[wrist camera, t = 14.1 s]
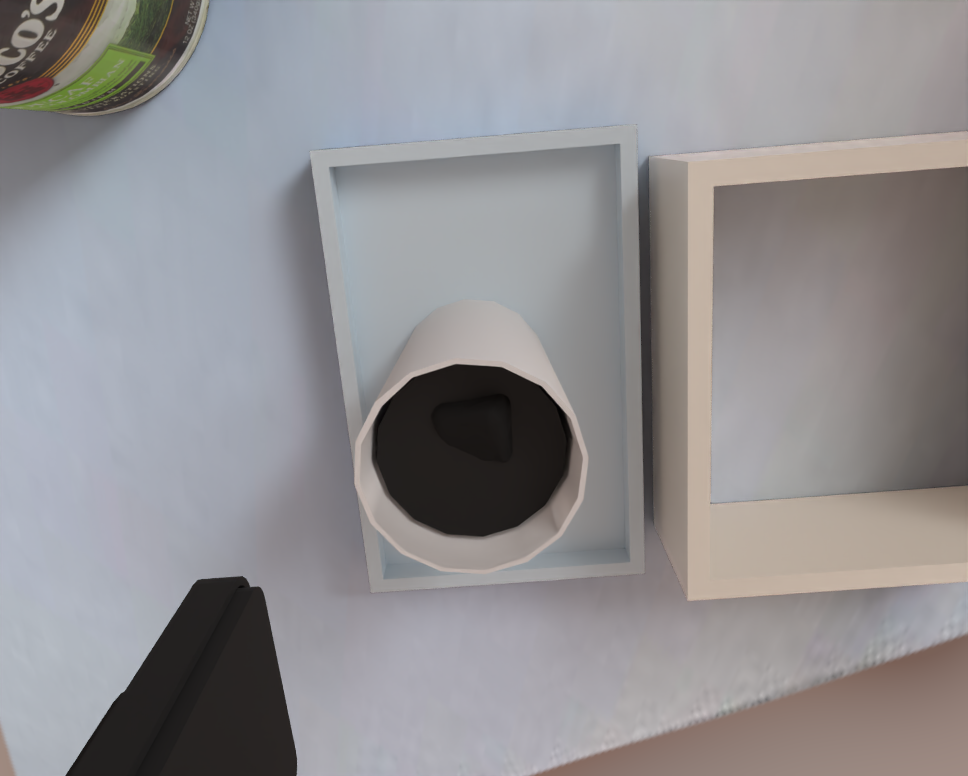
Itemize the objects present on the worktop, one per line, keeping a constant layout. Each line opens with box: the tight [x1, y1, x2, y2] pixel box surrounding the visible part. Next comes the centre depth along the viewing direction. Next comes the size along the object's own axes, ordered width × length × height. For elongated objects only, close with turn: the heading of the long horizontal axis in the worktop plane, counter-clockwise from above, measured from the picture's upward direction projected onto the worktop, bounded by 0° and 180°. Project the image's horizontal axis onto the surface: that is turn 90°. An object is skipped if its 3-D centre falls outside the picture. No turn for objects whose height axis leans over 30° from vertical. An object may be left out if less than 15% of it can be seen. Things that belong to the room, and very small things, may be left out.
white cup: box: [354, 299, 589, 574], centre depth 27 cm, size 7×7×10 cm
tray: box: [310, 124, 645, 593], centre depth 32 cm, size 12×18×2 cm, turn 4°
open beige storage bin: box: [649, 131, 968, 601], centre depth 30 cm, size 16×16×6 cm
